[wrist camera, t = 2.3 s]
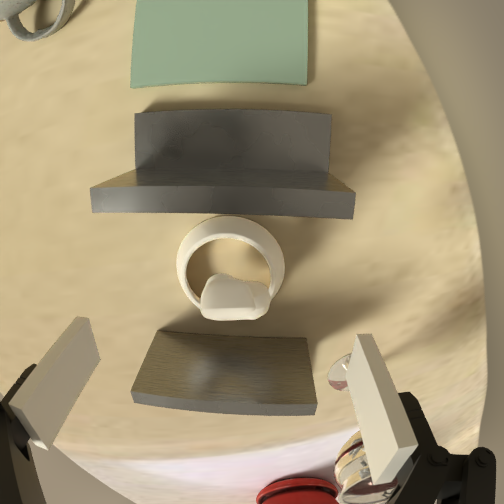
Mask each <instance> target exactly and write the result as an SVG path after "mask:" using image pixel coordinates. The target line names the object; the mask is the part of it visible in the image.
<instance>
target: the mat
mask: <svg viewBox="0 0 504 504" xmlns="http://www.w3.org/2000/svg"><path fill="white" fill-rule="evenodd" d="M307 62H308V0H137V4H136V13H135V22H134V33H133V46H132V62H131V84H130V88H143V87H153V86H164V85H177V84H194V83H273V84H290V85H304V86H306V85H307Z"/></svg>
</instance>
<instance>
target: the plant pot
mask: <svg viewBox="0 0 504 504" xmlns="http://www.w3.org/2000/svg"><path fill="white" fill-rule="evenodd" d="M337 495H338V491H337V489H336V487H335V486H334V485H333V484H331V483H330V482H327V481H325V480H321V479H316V478H294V479H287V480H283V481H279V482H276V483H273V484H271V485H269V486H267V487H265V488H264V489H262V490H261V491H260V492H259V494H258V495H257V498H256V502H257V504H339V503H338V502H337V501H336V497H337Z"/></svg>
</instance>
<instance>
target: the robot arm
mask: <svg viewBox="0 0 504 504" xmlns="http://www.w3.org/2000/svg"><path fill="white" fill-rule="evenodd" d="M100 360H101V359H100V356H99V353H98V349H97V346H96V342H95V339H94V335H93V332H92V328H91V324H90V320H89V318H84V317H78V316H77V317H76V318H75V319H74V320H73V322H72V323H71V324H70V325H69V326H68V328H67V329H66V330H65V331H64V332H63V333H62V335H61V336H60V337H59V338H58V340H57V341H56V342H55V343H54V344H53V346H52V347H51V348H50V349H49V351H48V352H47V353H46V354H45V356H44V357H43V358H42V359H41V361H40V362H39V363H38V365H37V364H32V365H31V366H30V367H28V368H27V369H25V371H24V372H23V373H22V374H21V376H20V378H18V380H17V381H16V384H15V383H14V385H13V386H12V387H11V389H10V390H9V391H8V393H7V394H6V395H5V397H4V398H3V399H2V401H1V402H0V504H46V501H45V498H44V495H43V492H42V489H41V486H40V483H39V479H38V476H37V472H36V468H35V465H34V461H33V457H32V453H31V448H30V446H29V444H28V440H29V439H30V438H31V439H32V441H33V442H34V443H35V445H37V446H39V447H41V448H44V449H46V450H49V449H50V447H51V445H52V444H53V442H54V440H55V438H56V436H57V434H58V432H59V431H60V429H61V427H62V425H63V423H64V421H65V420H66V418H67V416H68V414H69V412H70V411H71V409H72V407H73V405H74V404H75V402H76V400H77V398H78V397H79V395H80V393H81V392H82V390H83V388H84V386H85V385H86V383H87V381H88V380H89V378H90V376H91V375H92V373H93V371H94V370H95V368H96V366H97V365H98V363H99V361H100ZM346 380H347V384H348V387H349V391H350V394H351V398H352V402H353V405H354V409H355V413H356V417H357V420H358V424H359V428H360V432H361V436H362V440H363V444H364V448H365V452H366V456H367V460H368V465H369V469H370V473H371V477H372V482H373V485H377V484H383V483H389V482H391V481H392V480H393V479H394V478H395V476H396V475H397V479H398V484H397V485H396V487H395V488H394V489H393V490H392V491H391V492H390V494H391V495H390V497H389V498H388V500H387V502H386V503H385V504H434V503H435V500H436V499H437V504H495V489H496V459H495V456H494V454H493V452H492V451H490V450H489V449H487V448H484V447H478V448H476V449H474V450H473V451H472V452H471V453H470V455H455V454H450V453H449V452H448V451H447V449H445V448H443V447H441V446H438V445H437V443H436V441H435V438H434V436H433V433H432V431H431V429H430V427H429V424H428V422H427V420H426V418H425V415H424V413H423V411H422V410H421V409H422V408H421V406H420V404H419V402H418V400H417V399H416V398H415V397H414V396H413V395H412V394H411V393H410V392H402V393H398V392H397V390H396V388H395V385H394V383H393V381H392V378H391V376H390V374H389V371H388V369H387V367H386V365H385V362H384V360H383V358H382V356H381V353H380V351H379V349H378V347H377V345H376V342H375V340H374V338H373V336H372V334H357V335H356V339H355V343H354V347H353V351H352V354H351V358H350V362H349V366H348V369H347V373H346Z"/></svg>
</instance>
